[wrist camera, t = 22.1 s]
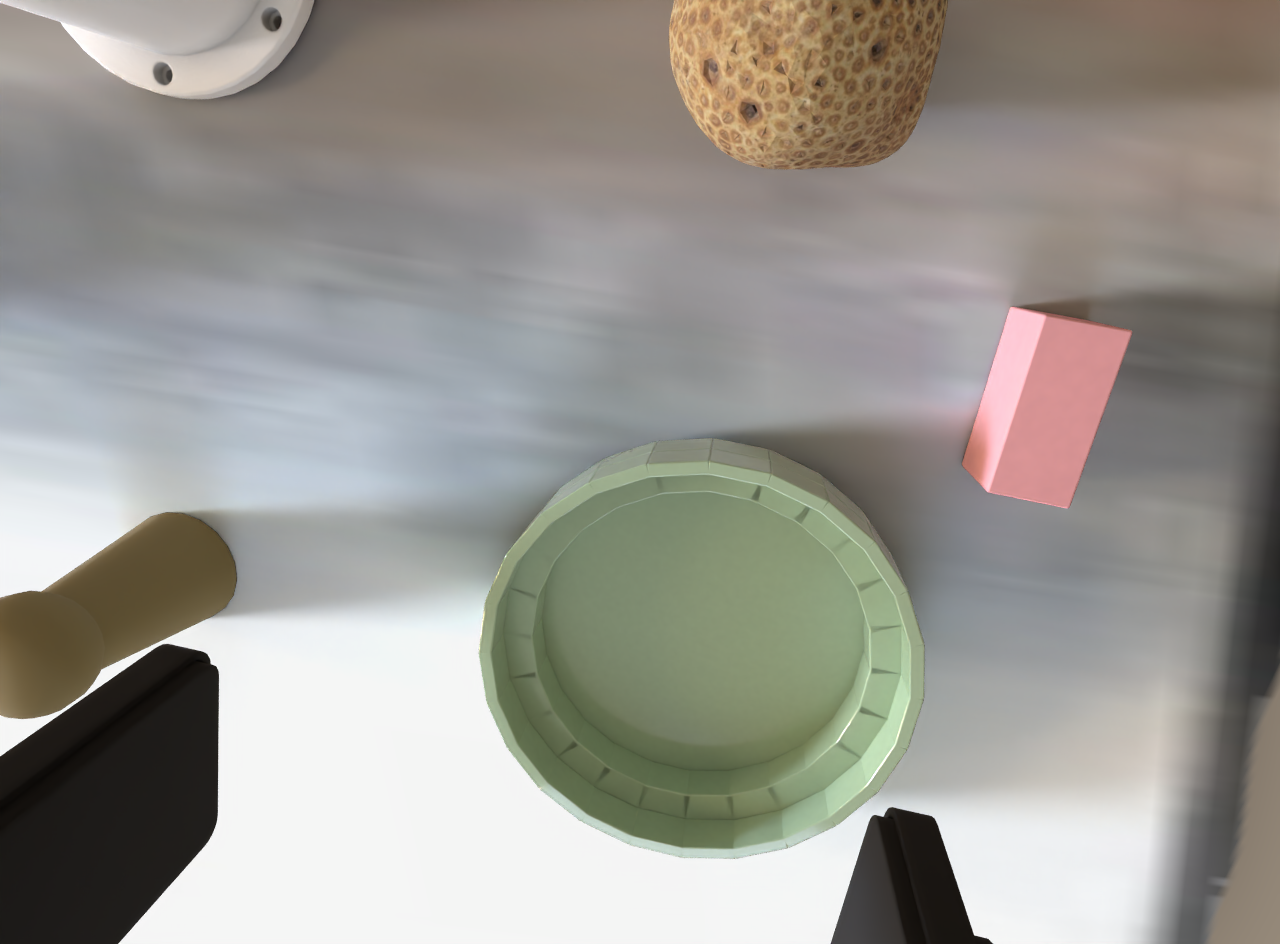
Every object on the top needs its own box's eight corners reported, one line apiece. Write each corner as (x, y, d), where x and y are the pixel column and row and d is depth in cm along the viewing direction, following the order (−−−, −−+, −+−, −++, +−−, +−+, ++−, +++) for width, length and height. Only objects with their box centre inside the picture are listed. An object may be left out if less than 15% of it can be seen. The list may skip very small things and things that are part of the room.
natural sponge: (715, -90, 30) (700, -244, 21) (947, -44, 30) (1042, -180, 20) (663, 160, 33) (629, 126, 23) (874, 206, 32) (927, 191, 23)
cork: (238, 526, 40) (60, 626, 30) (235, 630, 42) (65, 759, 32) (128, 500, 41) (-86, 590, 30) (129, 604, 43) (-72, 723, 32)
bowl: (535, 398, 36) (507, 419, 32) (954, 482, 35) (984, 516, 31) (488, 747, 42) (459, 804, 38) (847, 831, 41) (859, 900, 36)
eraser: (1010, 305, 33) (1044, 314, 29) (1089, 320, 32) (1134, 330, 29) (960, 465, 35) (986, 492, 31) (1034, 480, 35) (1069, 509, 31)
